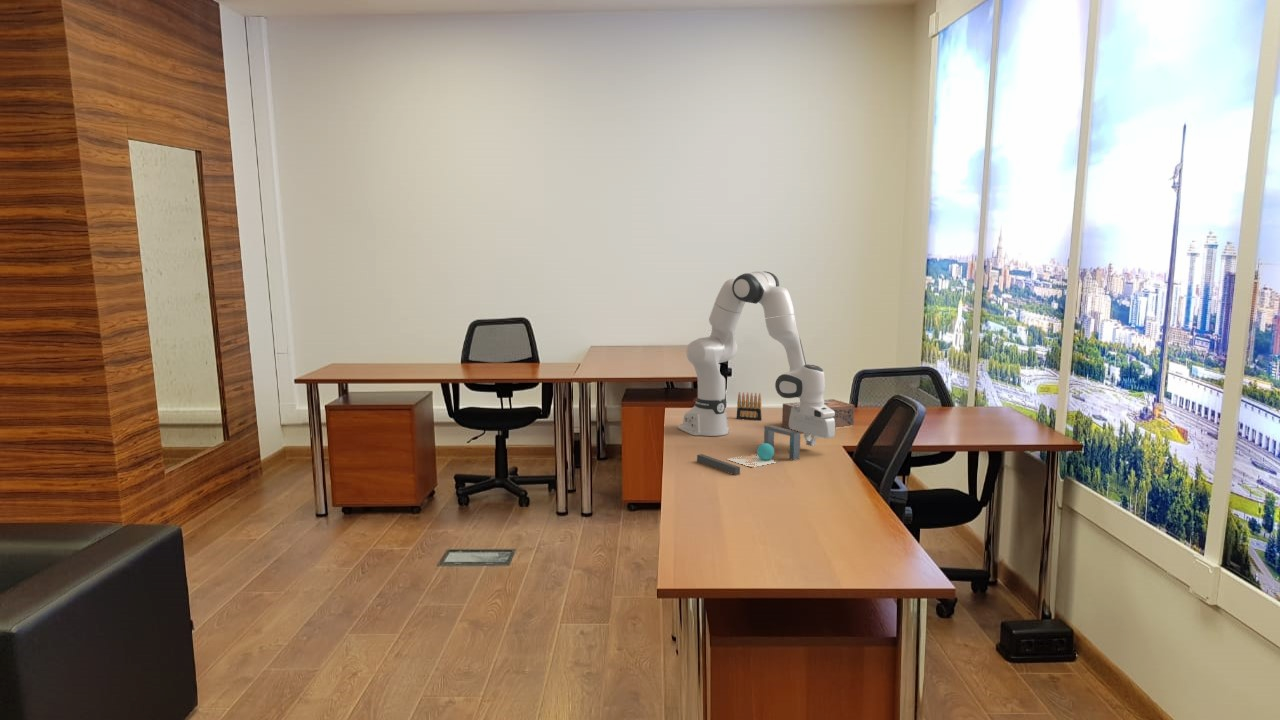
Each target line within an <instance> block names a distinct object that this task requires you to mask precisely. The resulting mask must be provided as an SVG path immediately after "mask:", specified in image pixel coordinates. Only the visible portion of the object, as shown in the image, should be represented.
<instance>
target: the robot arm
mask: <svg viewBox="0 0 1280 720" xmlns="http://www.w3.org/2000/svg"><path fill="white" fill-rule="evenodd" d="M745 303H749V304H750V303H751V304H758V303H759V304H761V306H762V308H763V312H764V313H763V314H764V319H765V320H764V321H765V325H766V326H765V327H766V329H767V332H768V335H769V336H770V337H771V338H772V339H773V340H775V341H778V342H779V343H780V344H781V345H782V346H783V348H784V349H785V353H786V356H787V361H788V365H789V371H788V372H784V373H782V374H781V375H779V376H778V377H777V378H776V380H775V383H774V388H775V390H776V393H777V394H778V395H779V396H780V397H781V398H783V399H793V398H794V399H795V398H799V402H800V406H797V405H794V406H793V407H794V408H793V407H792V408H791V413H790V417H789V428H790V429H789V428H788V429H789V430H791V429H792V431H794V430H796V432H797V431H800V432H804V433H803V438H804V439H805V445H806V446H809V447H815V446H816V441H817V439H818V437H819V438H823V439H828V440H829V439H833V438H834V436H835V435H836V430H835V420H834V418H833V417H834V416H835V412H834V411H833V410H832V409H830V408H829V407H827V406H826V405H825V404H824V400H825V398H824V394H825V392H826V391H825V390H826V379H825V371H824V369H823V368H821V367H820V366H819V365H818V366H817V365H814V364H807V362H806V357H805V354H804V353H805V352H804V350H803V344H802V340H801V337H800V334H799V330H798V326H797V320H796V314H795V309H794V308H795V307H794V304H793V300H792V298H791V294H790V292H789V290H788V289H787V288H786V287H783V286H780V281H779V278H778V277H777V276H776V275H775V274H774V273H772V272H769V271H752V272H749V273H748V272H746V273H742V274H740V275H738V276H737V277H736V278H729V279H727V280H726V281H725V282H724V283H723V284H722V286H721V288H720V290H719V291H718V294H717V296H716V298H715V301H714V304H713V307H712V309H711V311H710V316H709V318H708V321H709V324H710V326H711V333H710V335H709V336H707V337H699V338H696V339H694V340H692V341H691V342H690V343H689V344H688V345H687V347H686V358H687V360H688V361H689V363H691V364H692V365H693V367H694V370H695V372H696V379H697V397H694V398H693V402H694V406H693V407H691V409H689V410H688V411H687V412H685V413H684V414H683V418H682V419H683V420H682V422H683V423H680V424H678V425H677V426H676V428H677V429H679V430H681V431H682V432H685V433H687V434H689V435H691V436H705V437H709V436H710V437H716V436H717V437H718V436H724V435H725V436H726V435H728V434H729V433H730V432H729V431H730V427H729V425H728V423H729V422H728V414H727V410H726V408H727V398H726V378H725V376H724V375H722V374H721V371H720V368H719V364H721V363H726V362H728V361H730V360H733V358H734V357H736V356H737V354H738V351H739V350H738V348H739V347H738V344H737V341H736V337H735V335H736V328H737V325H738V323H739V320H740V317H741V314H742V312H743V309H744V306H745Z"/></svg>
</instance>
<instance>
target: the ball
mask: <svg viewBox="0 0 1280 720" xmlns="http://www.w3.org/2000/svg"><path fill="white" fill-rule="evenodd" d="M774 448H775V447H774ZM774 448H773V447H772V446H771V445H770V444H768V443H764V442H763V443H762V444H760V445H759V446H757V450H756V455H758V456H759V458H761V459H762V460H769V459H771V460H772V458H773V457H774V455H775V449H774Z"/></svg>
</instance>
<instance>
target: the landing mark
mask: <svg viewBox="0 0 1280 720" xmlns="http://www.w3.org/2000/svg"><path fill="white" fill-rule="evenodd" d="M756 455H757V456H758V454H756ZM742 456H743V455H741V457H742ZM757 456H756V457H755V458H751V459H749V460H750V461H751V460H752V461H753V460H754V459H755V460H756V459H757V458H758V457H759V456H758V457H757ZM737 457H738V458H739V457H740V456H736V457H735V456H734V457H731V458H726V459H727V460H726V461H729V460H730V462H732V461H733V462H732V463H735V462H736V463H735V464H738V463H739V464H738V465H741V464H743V465H742V466H744V465H745V466H744V467H747V466H754V465H748V464H750V463H745V462H746V461H747V462H748V461H749V460H747V459H737ZM741 457H740V458H741ZM733 458H734V459H733ZM735 458H736V459H735ZM755 460H754V461H755ZM752 463H753V464H754V463H755V466H754V468H758V467H757V466H759V467H763V466H762V465H764V466H768V465H767V464H769V465H772V464H771V463H774V464H777V463H776V462H774V459H772V458H771V459H769V460H762V459H761V458H758V459H757V460H756V461H755V462H752ZM752 463H751V464H752ZM756 463H757V464H756ZM746 464H747V465H746ZM756 465H757V466H756Z"/></svg>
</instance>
